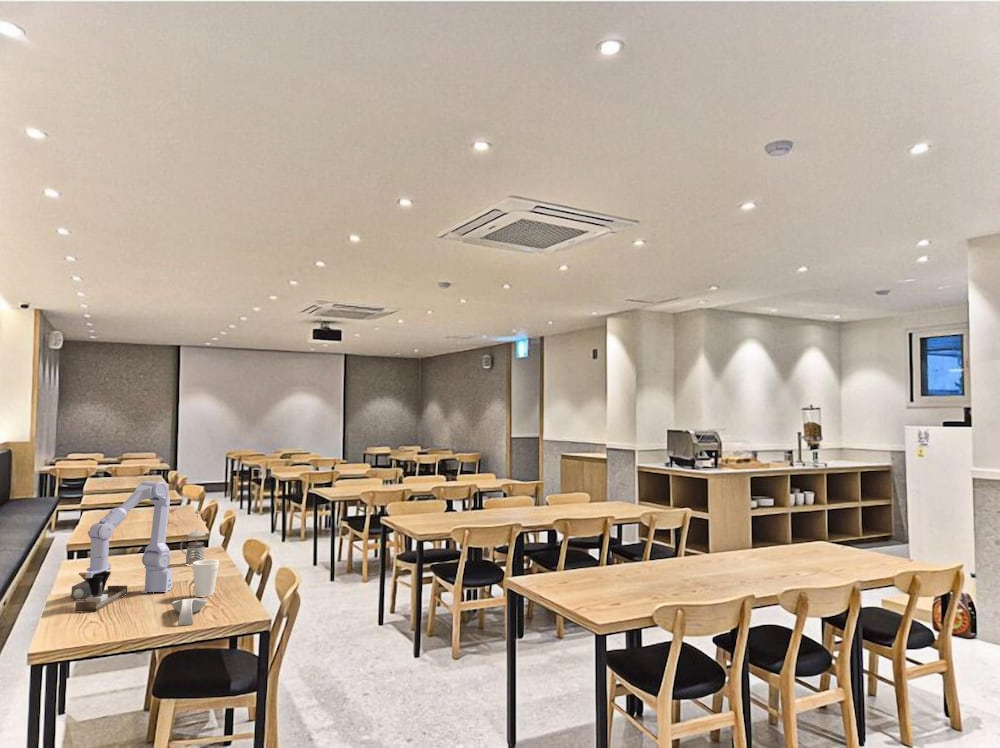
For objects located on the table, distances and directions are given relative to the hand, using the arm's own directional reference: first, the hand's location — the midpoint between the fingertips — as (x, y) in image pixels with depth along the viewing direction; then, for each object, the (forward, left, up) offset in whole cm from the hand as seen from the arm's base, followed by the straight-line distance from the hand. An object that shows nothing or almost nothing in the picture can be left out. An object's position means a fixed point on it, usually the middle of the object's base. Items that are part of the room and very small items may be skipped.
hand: (97, 593), depth 249 cm
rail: (0, -4, -4) cm, 6 cm away
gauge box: (+10, -13, -4) cm, 17 cm away
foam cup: (-34, -13, -5) cm, 37 cm away
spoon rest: (-38, +14, -5) cm, 40 cm away
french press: (-9, -71, -5) cm, 72 cm away
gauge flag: (+11, -14, +3) cm, 17 cm away
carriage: (0, 0, -3) cm, 3 cm away
